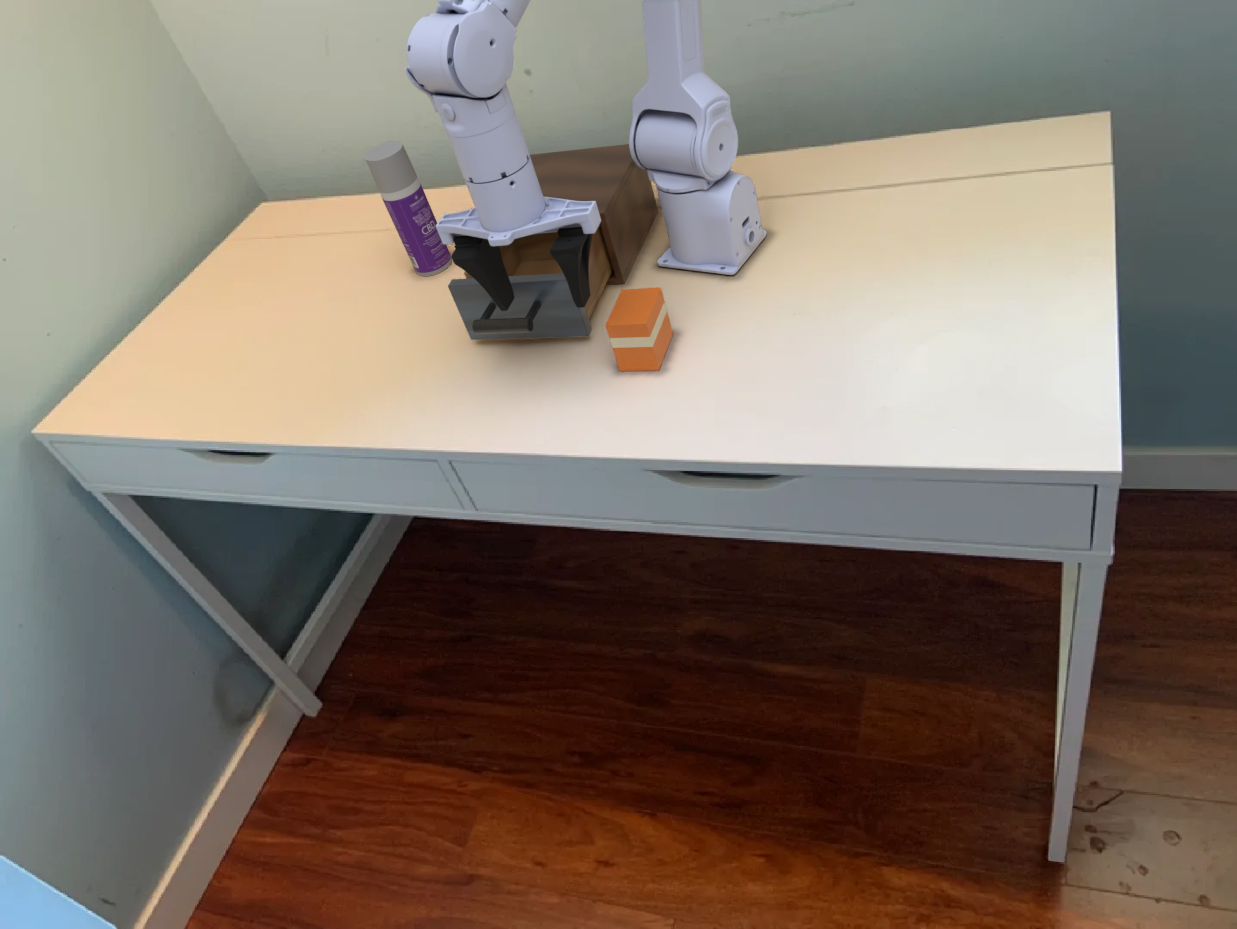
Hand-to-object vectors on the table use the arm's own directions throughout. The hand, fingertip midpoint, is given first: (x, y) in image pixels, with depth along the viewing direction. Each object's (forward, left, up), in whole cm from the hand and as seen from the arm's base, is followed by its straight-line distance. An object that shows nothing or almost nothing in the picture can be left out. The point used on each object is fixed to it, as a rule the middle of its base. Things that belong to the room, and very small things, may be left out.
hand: (545, 302), depth 87 cm
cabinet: (+12, -20, -9) cm, 25 cm away
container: (+30, -13, -9) cm, 34 cm away
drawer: (+8, -7, -8) cm, 13 cm away
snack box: (-6, -5, -9) cm, 11 cm away
